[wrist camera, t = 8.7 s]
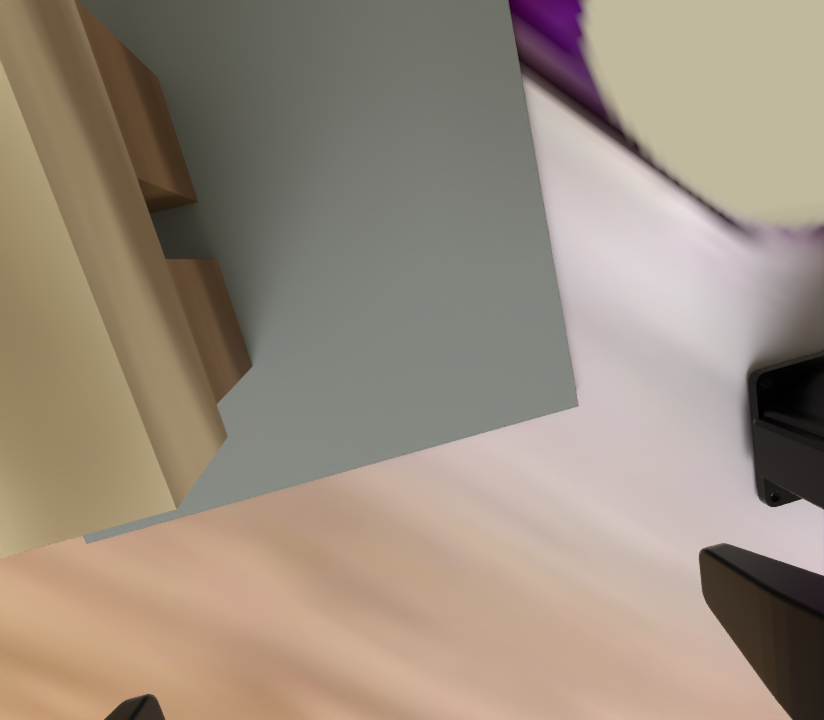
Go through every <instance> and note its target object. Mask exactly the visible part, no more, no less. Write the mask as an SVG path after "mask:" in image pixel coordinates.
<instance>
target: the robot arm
mask: <svg viewBox="0 0 824 720" xmlns="http://www.w3.org/2000/svg"><path fill="white" fill-rule="evenodd" d="M763 379H764V383H763V384H762V385H761V382H762V380H763ZM748 384H749V395H750V407H751V418H752V429H753V441H754V452H755V463H756V475H757V486H758V496H759V499H760V500H761V501H762V502H763V503H765V504H766V505H768V506H770V507H777V506H781V505H784V504H787V503H791V502H794V501H797V500H800V499H804V500H806V501H808V502H810V503H812V504H814V505H816V506H818V507H820V508H822V509H823V510H824V351H823V352H819V353H816V354H812V355H809V356H805V357H802V358H798V359H795V360H791V361H788V362H784V363H780V364H777V365H773V366H770V367H766V368H763V369H759V370H757V371H755V372H753V373H752V374H751V376H750V378H749V383H748ZM772 494H773V495H772ZM771 495H772V496H771ZM699 564H700V574H701V584H702V592H703V596H704V598H705V601H706V603H707V605H708V606H709V608H710V609H711V611H712V612H713V614H714V615H715V616H716V618H717V619H718V620H719V622H720V623H721V625H722V626H723V627H724V629H725V630H726V632H727V633H728V634H729V636H730V637H731V638H732V640H733V641H734V643H735V644H736V645H737V647H738V648H739V650H740V651H741V652H742V654H743V655H744V657H745V658H746V659H747V661H748V662H749V663H750V665H751V666H752V668H753V669H754V670H755V672H756V673H757V675H758V676H759V677H760V679H761V680H762V681H763V683H764V684H765V686H766V687H767V688H768V690H769V691H770V692H771V693H772V695H773V696H774V697H775V699H776V700H777V701H778V703H779V704H780V705H781V706H782V707H783V709H784V710H785V711H786V712H787V714H788V715H789V716H790V717H791V718H792V720H824V576H823V575H820V574H817V573H814V572H811V571H808V570H805V569H802V568H799V567H796V566H793V565H790V564H787V563H784V562H781V561H778V560H775V559H772V558H769V557H766V556H763V555H760V554H757V553H754V552H751V551H748V550H745V549H742V548H739V547H736V546H733V545H730V544H725V543H722V544H717V545H714V546H710V547H706V548H703V549H702V550H701V551H700V553H699ZM104 720H165V717H164V715H163V712H162V710H161V707H160V705H159V702H158V700H157V698H156V697H155V696H154V695H152V694H146V695H142V696H138V697H135V698H131V699H128V700H125V701H124V702H122V703H121V704H120V705H119V706H118V707H117V708H116V709H115V710H114V711H113V712H112V713H111V714H109V715H108V716H107V717H106V718H105V719H104Z"/></svg>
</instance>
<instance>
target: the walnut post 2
mask: <svg viewBox="0 0 824 720" xmlns="http://www.w3.org/2000/svg"><path fill="white" fill-rule="evenodd" d="M166 262H167V265H168V268H169V271H170V274H171V277H172V279H173V282H174V285H175V288H176V291H177V294H178V296H179V299H180V302H181V305H182V308H183V311H184V313H185V316H186V319H187V322H188V325H189V328H190V330H191V333H192V336H193V339H194V342H195V345H196V348H197V350H198V353H199V356H200V359H201V362H202V365H203V367H204V370H205V373H206V376H207V379H208V382H209V384H210V387H211V390H212V393H213V396H214V399H215V402H216V404H218V403H219V402H220V400H221V399H222V398H223V397H224V396H225V395H226V394H227V393H228V392H229V391H230V390H231V389H232V388H233V387H234V386H235V385H236V384H237V382H238V381H239V380H240V379H241V378H242V377H243V376H244V375H245V374H246V373H247V372H248V371H249V370H250V369H251V368H252V364H251V361H250V358H249V355H248V352H247V349H246V345H245V342H244V339H243V336H242V333H241V330H240V327H239V324H238V321H237V318H236V315H235V312H234V309H233V306H232V303H231V300H230V297H229V294H228V291H227V288H226V285H225V282H224V279H223V275H222V272H221V269H220V266H219V263H218V260H206V259H166Z"/></svg>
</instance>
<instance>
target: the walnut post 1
mask: <svg viewBox="0 0 824 720" xmlns="http://www.w3.org/2000/svg"><path fill="white" fill-rule="evenodd" d="M74 1H75V4H76V7H77V9H78V12H79V15H80V18H81V21H82V24H83V26H84V29H85V32H86V35H87V38H88V41H89V44H90V46H91V49H92V52H93V55H94V58H95V61H96V63H97V66H98V69H99V72H100V75H101V78H102V80H103V83H104V86H105V89H106V92H107V95H108V98H109V100H110V103H111V106H112V109H113V112H114V115H115V117H116V120H117V123H118V126H119V129H120V132H121V134H122V137H123V140H124V143H125V146H126V149H127V151H128V154H129V157H130V160H131V163H132V166H133V169H134V171H135V174H136V177H137V180H138V183H139V186H140V188H141V191H142V194H143V197H144V200H145V203H146V205H147V208H148V211H149V213H153V212H158V211H162V210H166V209H170V208H175V207H179V206H183V205H187V204H191V203H196V202H198V199H197V196H196V193H195V190H194V187H193V184H192V181H191V178H190V175H189V172H188V169H187V166H186V163H185V160H184V157H183V154H182V151H181V148H180V145H179V142H178V138H177V135H176V132H175V129H174V126H173V123H172V120H171V117H170V114H169V111H168V108H167V105H166V102H165V99H164V96H163V93H162V90H161V87H160V84H159V81H158V78H157V76H156V75H155V74H154V73H153V72H152V71H151V70H150V69H149V68H148V67H147V66H146V65H144V64H143V63H142V62H141V61H140V60H139V59H138V58H137V57H136V56H135V55H134V54H133V53H132V52H131V51H130V50H129V49H128V48H127V47H126V46H125V45H123V44H122V43H121V42H120V41H119V40H118V39H117V38H116V37H115V36H114V35H113V34H112V33H111V32H110V31H109V30H108V29H107V28H106V27H105V26H103V25H102V24H101V23H100V22H99V21H98V20H97V19H96V18H95V17H94V16H93V15H92V14H91V13H90V12H89V11H88V10H87V9H86V8H85V7H83V6H82V5H81V4H80V3H79V2H78V1H77V0H74Z"/></svg>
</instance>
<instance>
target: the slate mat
mask: <svg viewBox="0 0 824 720" xmlns="http://www.w3.org/2000/svg"><path fill="white" fill-rule="evenodd" d="M77 1H78V2H79V3H80V4H81V5H82V6H83V7H85V8H86V9H87V10H88V11H89V12H90V13H91V14H92V15H93V16H94V17H95V18H96V19H97V20H98V21H99V22H100V23H101V24H102V25H103V26H105V27H106V28H107V29H108V30H109V31H110V32H111V33H112V34H113V35H114V36H115V37H116V38H117V39H118V40H119V41H120V42H121V43H122V44H123V45H125V46H126V47H127V48H128V49H129V50H130V51H131V52H132V53H133V54H134V55H135V56H136V57H137V58H138V59H139V60H140V61H141V62H142V63H143V64H144V65H146V66H147V67H148V68H149V69H150V70H151V71H152V72H153V73H154V74H155V75H156V76H157V78H158V81H159V84H160V87H161V90H162V93H163V96H164V99H165V102H166V105H167V108H168V111H169V114H170V117H171V120H172V123H173V126H174V129H175V132H176V135H177V138H178V142H179V145H180V148H181V151H182V154H183V157H184V160H185V163H186V166H187V169H188V172H189V175H190V178H191V181H192V184H193V187H194V190H195V193H196V196H197V199H198V202H196V203H191V204H187V205H183V206H179V207H175V208H170V209H166V210H162V211H158V212H153V213H149V214H150V217H151V220H152V223H153V225H154V228H155V231H156V234H157V237H158V240H159V242H160V245H161V248H162V251H163V254H164V257H165V259H206V260H218V263H219V266H220V269H221V272H222V275H223V279H224V282H225V285H226V288H227V291H228V294H229V297H230V300H231V303H232V306H233V309H234V312H235V315H236V318H237V321H238V324H239V327H240V330H241V333H242V336H243V339H244V342H245V345H246V349H247V352H248V355H249V358H250V361H251V364H252V368H251V369H250V370H249V371H248V372H247V373H246V374H245V375H244V376H243V377H242V378H241V379H240V380H239V381H238V382H237V384H236V385H235V386H234V387H233V388H232V389H231V390H230V391H229V392H228V393H227V394H226V395H225V396H224V397H223V398H222V399H221V400H220V402H219V403H218V404H217V407H218V410H219V413H220V416H221V419H222V421H223V424H224V427H225V430H226V433H227V436H228V437H227V439H226V440H225V442H224V443H223V444H222V446H221V447H220V449H219V450H218V451H217V453H216V454H215V456H214V457H213V458H212V460H211V461H210V463H209V464H208V466H207V467H206V468H205V470H204V471H203V473H202V474H201V475H200V477H199V478H198V480H197V481H196V483H195V484H194V485H193V487H192V488H191V490H190V491H189V492H188V494H187V495H186V497H185V498H184V499H183V501H182V502H181V504H180V505H179V507H178V508H177V509H176V510H172V511H168V512H165V513H161V514H158V515H154V516H150V517H147V518H143V519H140V520H136V521H132V522H129V523H125V524H122V525H118V526H114V527H111V528H107V529H104V530H100V531H97V532H93V533H89V534H86V535H83V537H84V539H85V541H86V543H87V544H88V543H92V542H95V541H99V540H102V539H106V538H109V537H113V536H117V535H120V534H124V533H127V532H131V531H134V530H138V529H142V528H145V527H149V526H152V525H156V524H159V523H163V522H167V521H170V520H174V519H177V518H181V517H184V516H188V515H192V514H195V513H199V512H202V511H206V510H209V509H213V508H217V507H220V506H224V505H227V504H231V503H234V502H238V501H242V500H245V499H249V498H252V497H256V496H259V495H263V494H267V493H270V492H274V491H277V490H281V489H284V488H288V487H292V486H295V485H299V484H302V483H306V482H309V481H313V480H317V479H320V478H324V477H327V476H331V475H334V474H338V473H342V472H345V471H349V470H352V469H356V468H359V467H363V466H367V465H370V464H374V463H377V462H381V461H384V460H388V459H392V458H395V457H399V456H402V455H406V454H409V453H413V452H417V451H420V450H424V449H427V448H431V447H434V446H438V445H442V444H445V443H449V442H452V441H456V440H459V439H463V438H467V437H470V436H474V435H477V434H481V433H484V432H488V431H492V430H495V429H499V428H502V427H506V426H509V425H513V424H517V423H520V422H524V421H527V420H531V419H534V418H538V417H541V416H545V415H549V414H552V413H556V412H559V411H563V410H566V409H570V408H574V407H577V406H578V400H577V394H576V388H575V383H574V377H573V371H572V365H571V360H570V354H569V348H568V342H567V336H566V331H565V325H564V319H563V313H562V308H561V302H560V296H559V290H558V285H557V279H556V273H555V267H554V262H553V256H552V250H551V244H550V238H549V233H548V227H547V221H546V215H545V210H544V204H543V198H542V192H541V187H540V181H539V175H538V169H537V164H536V158H535V152H534V146H533V140H532V135H531V129H530V123H529V117H528V112H527V106H526V100H525V94H524V89H523V83H522V77H521V71H520V65H519V60H518V54H517V48H516V42H515V37H514V31H513V25H512V19H511V14H510V8H509V2H508V0H77Z"/></svg>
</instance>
